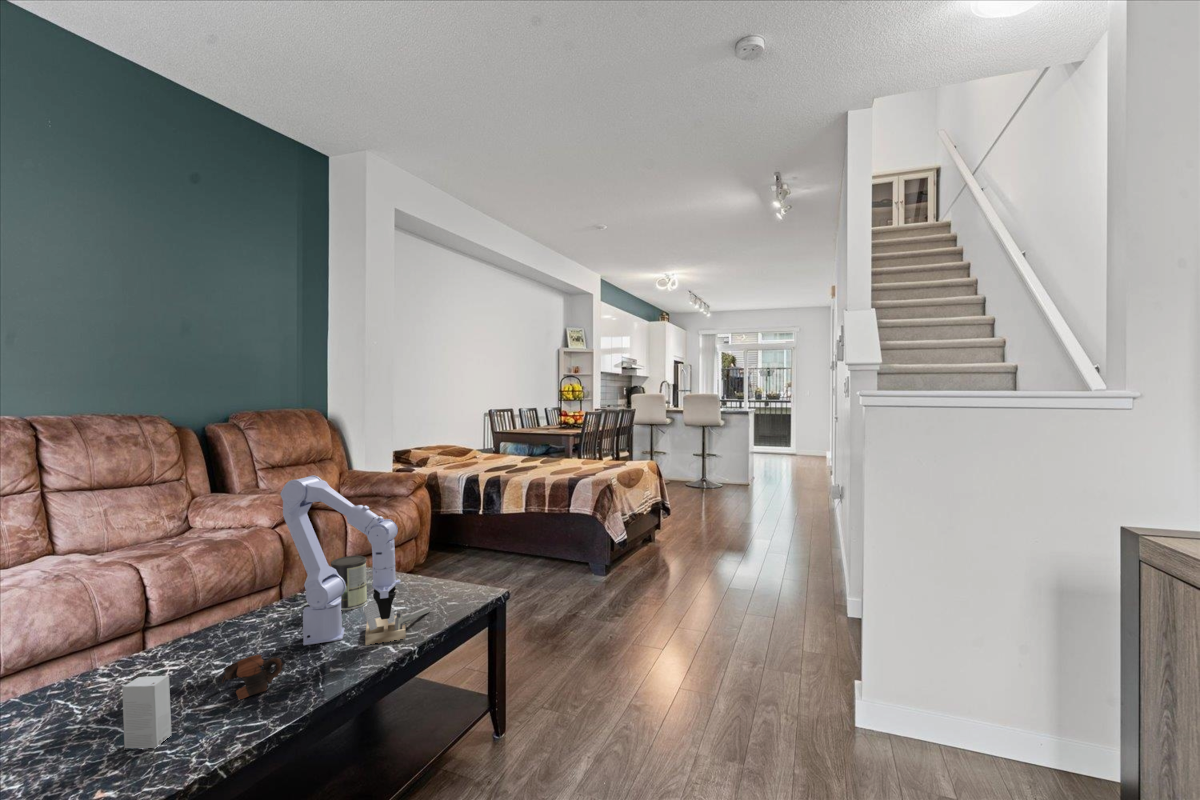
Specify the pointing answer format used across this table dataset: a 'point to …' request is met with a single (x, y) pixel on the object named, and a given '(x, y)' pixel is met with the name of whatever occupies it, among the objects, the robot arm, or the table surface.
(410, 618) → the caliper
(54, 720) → the table surface
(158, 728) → the skincare box
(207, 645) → the table surface
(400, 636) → the tan wooden flat block
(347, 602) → the coffee can
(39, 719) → the table surface
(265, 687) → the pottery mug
